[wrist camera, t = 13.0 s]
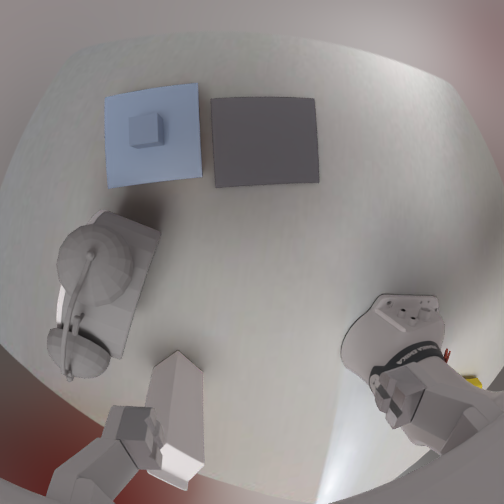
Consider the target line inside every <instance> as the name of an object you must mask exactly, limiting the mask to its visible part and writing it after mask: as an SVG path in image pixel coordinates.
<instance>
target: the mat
mask: <svg viewBox="0 0 504 504" xmlns="http://www.w3.org/2000/svg"><path fill="white" fill-rule="evenodd" d="M211 116H212V136H213V154H214V170H215V186H216V188H221V187H234V186H250V185H267V184H290V183H319V159H318V141H317V125H316V112H315V100H314V99H313V98H294V97H234V98H215V99H211Z"/></svg>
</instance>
